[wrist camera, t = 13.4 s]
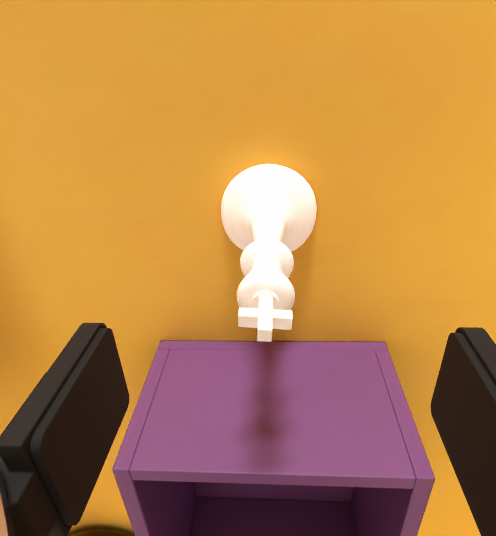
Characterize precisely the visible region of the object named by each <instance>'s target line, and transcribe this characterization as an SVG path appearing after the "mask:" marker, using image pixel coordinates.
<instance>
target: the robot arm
mask: <svg viewBox="0 0 496 536" xmlns="http://www.w3.org/2000/svg"><path fill="white" fill-rule="evenodd" d="M128 404H129V393H128V389H127V385H126V382H125V378H124V374H123V370H122V366H121V362H120V358H119V355H118V351H117V347H116V343H115V339H114V335H113V332H112V330H111V329H110V328H107V327H106V325H105V324H104V323H83V324H82V325H81V326H80V327H79V328H78V330H77V331H76V332H75V334H74V335H73V337H72V338H71V339H70V341H69V342H68V344H67V345H66V346H65V348H64V349H63V351H62V352H61V353H60V355H59V356H58V358H57V359H56V360H55V362H54V363H53V365H52V366H51V367H50V369H49V370H48V371H47V372H46V373H45V375H44V376H43V377H42V379H41V380H40V381H39V383H38V384H37V386H36V387H35V388H34V390H33V391H32V392H31V394H30V395H29V397H28V398H27V399H26V401H25V402H24V404H23V405H22V406H21V408H20V409H19V411H18V412H17V413H16V415H15V416H14V418H13V419H12V420H11V422H10V423H9V425H8V426H7V427H6V429H5V430H4V431H3V433H2V434H1V436H0V536H68V534H69V531H70V529H71V527H72V525H76V524H78V522H79V521H80V519H81V517H82V515H83V512H84V510H85V507H86V505H87V503H88V500H89V498H90V496H91V493H92V491H93V489H94V486H95V484H96V481H97V479H98V477H99V474H100V472H101V470H102V467H103V465H104V462H105V460H106V458H107V455H108V453H109V451H110V448H111V446H112V443H113V441H114V439H115V436H116V434H117V432H118V429H119V427H120V425H121V422H122V420H123V417H124V415H125V413H126V410H127V408H128ZM431 413H432V417H433V419H434V422H435V424H436V427H437V429H438V432H439V434H440V436H441V439H442V441H443V444H444V446H445V449H446V451H447V454H448V456H449V458H450V461H451V463H452V466H453V468H454V471H455V473H456V475H457V478H458V480H459V483H460V485H461V488H462V490H463V493H464V495H465V497H466V500H467V502H468V505H469V507H470V510H471V512H472V514H473V517H474V519H475V522H476V524H477V527H478V529H479V532H480V534H481V536H496V344H495V343H494V342H493V340H492V339H491V338H490V336H489V335H488V333H487V332H486V331H485V330H484V329H483V328H462V327H460V328H458V329H457V330H456V332H455V333H450V335H449V337H448V341H447V344H446V348H445V352H444V356H443V360H442V363H441V367H440V371H439V375H438V379H437V382H436V386H435V390H434V394H433V397H432V401H431Z"/></svg>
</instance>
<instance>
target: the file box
mask: <svg viewBox="0 0 496 536" xmlns="http://www.w3.org/2000/svg"><path fill="white" fill-rule="evenodd" d="M112 470H113V473H114V476H115V479H116V482H117V485H118V487H119V490H120V493H121V496H122V499H123V502H124V505H125V508H126V511H127V514H128V517H129V519H130V522H131V525H132V528H133V531H134V534H135V536H417V534H418V530H419V527H420V524H421V521H422V518H423V515H424V512H425V509H426V506H427V503H428V500H429V496H430V493H431V490H432V487H433V484H434V481H435V477H434V474H433V472H432V469H431V466H430V463H429V461H428V458H427V455H426V452H425V450H424V447H423V444H422V442H421V439H420V436H419V433H418V431H417V428H416V425H415V423H414V420H413V417H412V414H411V412H410V409H409V406H408V403H407V401H406V398H405V395H404V393H403V390H402V387H401V384H400V382H399V379H398V376H397V374H396V371H395V368H394V365H393V363H392V360H391V357H390V354H389V352H388V349H387V346H386V344H385V342H286V341H271V342H266V341H160V343H159V346H158V350H157V352H156V355H155V357H154V360H153V363H152V365H151V368H150V370H149V373H148V376H147V378H146V381H145V384H144V386H143V389H142V392H141V394H140V397H139V400H138V402H137V405H136V408H135V410H134V413H133V416H132V418H131V421H130V423H129V426H128V429H127V431H126V434H125V437H124V439H123V442H122V445H121V447H120V450H119V453H118V455H117V458H116V461H115V463H114V466H113V469H112Z"/></svg>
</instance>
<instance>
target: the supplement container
mask: <svg viewBox="0 0 496 536" xmlns="http://www.w3.org/2000/svg"><path fill="white" fill-rule="evenodd" d="M71 536H134V535H132V534H129V533H126V532H123V531H118V530H113V529H89V530H84V531H80V532H77V533H75V534H73V535H71Z"/></svg>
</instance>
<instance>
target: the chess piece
mask: <svg viewBox="0 0 496 536" xmlns="http://www.w3.org/2000/svg"><path fill="white" fill-rule="evenodd" d="M316 212H317V206H316V199H315V196H314V193H313V191H312V189H311V187H310V185H309V184H308V183H307V181H306V180H305V179H304V178H303V177H302V176H301V175H300V174H298V173H297V172H295V171H294V170H292V169H290V168H287V167H284V166H281V165H275V164H263V165H257V166H254V167H251V168H248V169H246V170H244V171H243V172H241V173H240V174H238V175H237V176H236V177H235V178H234V179H233V180H232V181H231V182H230V184H229V185H228V186H227V188H226V190H225V192H224V195H223V198H222V202H221V218H222V223H223V227H224V229H225V232H226V234H227V235H228V237H229V238H230V240H231V241H232V242H233V243H234V244H235V245H236V246H237V247H238V248H240V249H241V250H243V253H242V255H241V258H240V268H241V271H242V273H243V275H244V276H245V278H244V279H243V280H242V282H241V283H240V285H239V287H238V290H237V302H238V305H239V307H240V308H239V314H238V327H250V328H258V332H257V341H266V342H271V340H272V329H285V330H291V329H292V319H293V318H292V311H291V308H292V307H293V304H294V301H295V292H294V288H293V286H292V284H291V282H290V281H289V280H288V278H289V276H290V274H291V273H292V270H293V267H294V259H293V256H292V253H291V252H293V251H294V250H296V249H297V248H299V247H300V246H301V245H302V244H303V243H304V242H305V241H306V240H307V239H308V237H309V236H310V234H311V232H312V230H313V227H314V224H315V220H316Z"/></svg>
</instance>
